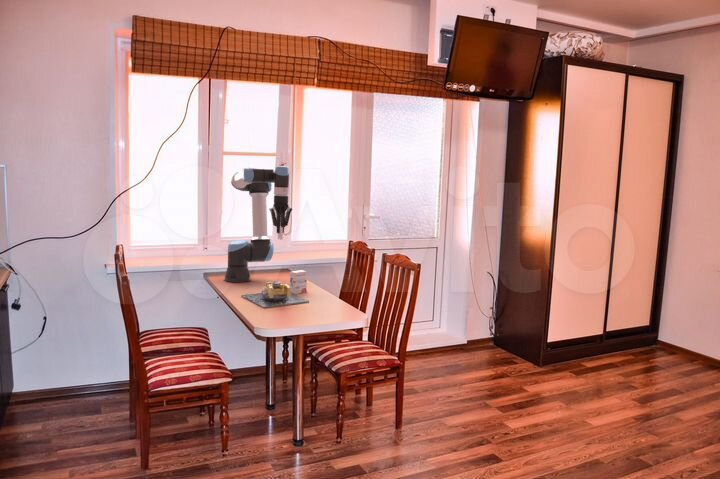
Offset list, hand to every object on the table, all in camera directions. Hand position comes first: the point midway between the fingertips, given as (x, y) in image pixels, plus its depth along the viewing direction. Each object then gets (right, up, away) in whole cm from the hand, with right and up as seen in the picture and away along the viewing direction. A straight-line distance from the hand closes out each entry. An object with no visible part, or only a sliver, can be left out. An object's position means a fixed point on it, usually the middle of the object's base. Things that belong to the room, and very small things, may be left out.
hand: (280, 239), depth 314 cm
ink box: (+8, -30, +11) cm, 33 cm away
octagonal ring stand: (0, -28, -11) cm, 30 cm away
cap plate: (-2, -32, -7) cm, 32 cm away
